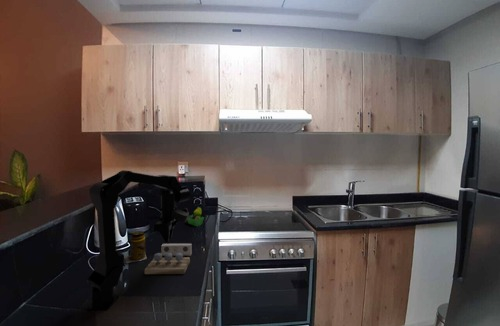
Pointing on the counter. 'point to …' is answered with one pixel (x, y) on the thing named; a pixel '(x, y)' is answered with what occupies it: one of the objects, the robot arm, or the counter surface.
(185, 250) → the white flat bar
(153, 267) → the board
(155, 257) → the button left
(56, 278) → the counter surface
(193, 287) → the counter surface
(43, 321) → the counter surface
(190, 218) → the fruit basket
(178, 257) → the button right
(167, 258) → the button mid
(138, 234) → the condiment
